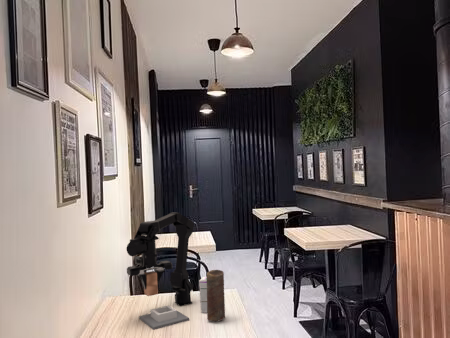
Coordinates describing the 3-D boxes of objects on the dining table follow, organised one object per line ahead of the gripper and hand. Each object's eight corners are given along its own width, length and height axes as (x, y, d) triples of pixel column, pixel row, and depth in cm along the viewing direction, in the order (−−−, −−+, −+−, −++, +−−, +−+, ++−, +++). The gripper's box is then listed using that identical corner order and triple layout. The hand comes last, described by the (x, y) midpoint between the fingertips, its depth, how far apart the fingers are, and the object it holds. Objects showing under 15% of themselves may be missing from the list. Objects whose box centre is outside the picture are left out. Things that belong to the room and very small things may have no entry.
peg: (154, 291, 179) (153, 271, 179) (158, 294, 175) (156, 273, 175) (144, 293, 177) (143, 272, 177) (147, 296, 173) (146, 274, 173)
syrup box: (213, 313, 178) (212, 279, 178) (200, 313, 179) (198, 279, 180) (216, 308, 184) (214, 276, 184) (203, 308, 185) (202, 276, 185)
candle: (228, 317, 172) (225, 269, 172) (222, 324, 165) (220, 274, 165) (211, 316, 175) (208, 269, 175) (204, 322, 168) (202, 273, 168)
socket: (173, 310, 185) (172, 301, 185) (189, 320, 171) (188, 310, 171) (139, 318, 176) (138, 309, 176) (153, 329, 163) (152, 319, 163)
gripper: (162, 246, 188) (164, 280, 188) (122, 251, 178) (124, 287, 178) (172, 249, 178) (173, 285, 178) (129, 255, 169) (131, 293, 169)
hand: (150, 287), depth 176 cm, fingers closed on peg, 4 cm apart
